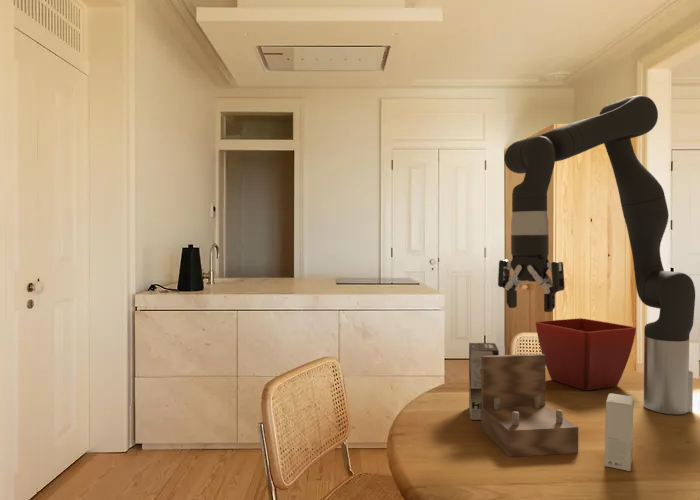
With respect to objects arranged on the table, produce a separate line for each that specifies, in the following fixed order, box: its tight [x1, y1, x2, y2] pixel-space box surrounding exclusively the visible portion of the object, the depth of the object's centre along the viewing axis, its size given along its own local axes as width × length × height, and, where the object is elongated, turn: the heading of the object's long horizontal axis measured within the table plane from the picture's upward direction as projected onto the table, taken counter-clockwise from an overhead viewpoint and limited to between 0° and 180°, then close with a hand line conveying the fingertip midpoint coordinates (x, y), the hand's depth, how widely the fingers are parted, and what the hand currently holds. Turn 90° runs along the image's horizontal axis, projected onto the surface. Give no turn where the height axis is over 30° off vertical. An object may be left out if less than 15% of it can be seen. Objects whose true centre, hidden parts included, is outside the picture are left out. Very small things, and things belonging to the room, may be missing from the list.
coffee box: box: [468, 342, 500, 421], centre depth 119 cm, size 9×6×16 cm
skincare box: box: [604, 392, 634, 472], centre depth 93 cm, size 6×4×12 cm
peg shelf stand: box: [480, 353, 579, 458], centre depth 104 cm, size 14×14×16 cm
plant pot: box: [535, 317, 637, 391], centre depth 144 cm, size 19×19×17 cm
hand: (529, 309), depth 108 cm, fingers open, 8 cm apart
